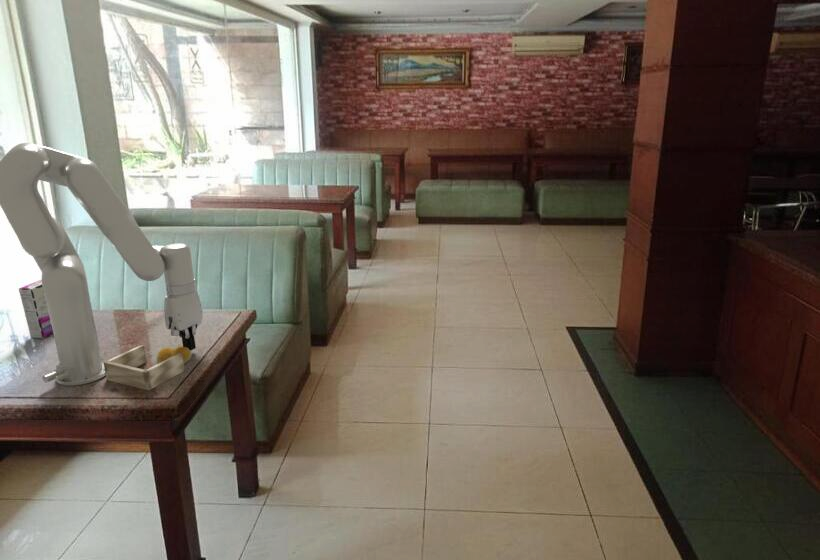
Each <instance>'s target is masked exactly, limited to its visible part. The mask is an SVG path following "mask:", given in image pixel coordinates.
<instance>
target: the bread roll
mask: <svg viewBox="0 0 820 560" xmlns="http://www.w3.org/2000/svg"><path fill="white" fill-rule="evenodd" d="M178 353H182V356H183V363H184V364H185V363H187V362H189V360H191V359H192V350H191V351H190V350H189V349H188V348H187V347H183V346H177V347H174V348H171V347H163V348H161V349H160V350H159V351H158V353H157V354H156V365H157V364H159V363H161V362H163V361H165V360H167V359H169V358H171V357H173V356H174V355H176V354H178Z"/></svg>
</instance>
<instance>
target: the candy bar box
mask: <svg viewBox="0 0 820 560" xmlns="http://www.w3.org/2000/svg"><path fill="white" fill-rule="evenodd" d="M18 292H19V295H20V299H21V304H22V308H23V312H24V315H25V319H26V324H27V327H28V332H29V336H30V338H31V339H46V338H47V337H50V336H51V335H54V334H53V329H52V325H51V321H50V316H49V312H48V307H47V303H46V300H45V296H44V292H43V288H42V279H39V280H37V281H34V282H31V283H30V284H27V285H24V286H21V287H20V288H18Z"/></svg>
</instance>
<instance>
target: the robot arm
mask: <svg viewBox="0 0 820 560" xmlns="http://www.w3.org/2000/svg"><path fill="white" fill-rule="evenodd" d="M39 181H43V182H46V183H50V184H54V185H57V186H62V187H67V188H68V190H69V192H71V194H72V196H74V198H75V199H76V200H77V202H79V204H80V205H81V207H82V208H83V209H84V211H85V212H86V213H87V214H88V216H89V218H91V220H92V221H93V222H94V223H95V225H96V227H97V228H98V229H99V230H100V232H101V233H102V235H104V236H105V238H106V239H107V240H108V241H109V242H110V244H111V245H112V246H113V247H114V248H115V250H116V251H117V252H118V253H119V255H120V257H122V259H123V260H124V262H126V264H127V265H128V267H129V268H130V269H131V270H132V272H133V273H134V274H135V276H137V278H138V279H140V280H143V281H146V282H153V281H156V280H159V279H160V278H161V277H162V276H163V277H164V284H165V289H166V295H165V296H164V305H163V306H164V307H163V309H164V321H165V327H166V329H167V330H170V336H173V337H177V336H178V337H179V338H181V342H182V347H187V348H188V349H189V350H190V351H191V352H192V351H193V350H195V349H196V339H195V335H197V334H196V333H197V328H198V327H199V326H200V325H201V324H202V322H203V317H204V316H203V308H202V303H201V299H200V295H199V291H198V290H197V289H196V283H197V281H196V279H195V276H194V267H193V262H192V254H191V253H192V252H191V248H190V246H189V245H187V244H186V243H180V242H179V243H170V244H166V245H153V244H152V243H151V242H150V240H149V239H148V237H147V236H146V235H145V234H144V232H143V230H142V229H141V228H140V226H139V225H138V223H137V221H136V219H135V217H134V215H133V214H132V212H131V210H130V209H129V207H128V206H127V205H126V204H125V202H124V200H122V198H121V197H120V195H119V194H118V193H117V191H116V190H115V188H114V187H113V186H112V185H111V183H110V182H109V180H108V179H107V178H106V176H105V175H104V174H103V172H102V171H101V169H100V168H99V167H98V165H97V164H96V163H95V162H94V161H92V160H91V159H89V158H87V157H83V156H78V155H76V154H75V155H74V154H71V153H67V152H64V151H60V150H57V149H53V148H51V147H47V146H43V145H41V144H36V143H32V142H24V143H23V142H22V143H19V144H16V145H14V146H13V147H12V148H11V149H10V150H9V151H7V153H6V154H5V155H4V156H3V157H2V159H0V208H1V210H3V213H4V214H5V217H6V219H7V220H8V223H9V225H10V227H11V228H12V229H13V232H14V233H15V235H16V237H17V239H18V241H19V242H20V243H19V244H20V245H21V248H22V249H23V250H24V252H26V253H27V254H28V255H30V256H31V257H33V259H34V261H35V263H36V264H37V266H38V268H39V269H40V272H41V280H42V288H43V292H44V296H45V300H46V303H47V307H48V312H49V316H50V321H51V325H52V329H53V334H52V335H53V338H54V342H55V346H56V347H55V348H56V351H57V357H58V362H59V363H58V364H56V365H55V368H56V369H54V370H53V372H49V373H46V374H45V375H43V376H42V380H43V382H44V383H50V382H52V381H55V382H56V383H58V384H59V385H61V386H81V385H85V384H90V383H93V382H96V381H98V380H100V379H103V378H104V377H106V374H105V368H104V363H103V362H104V361H103V360H102V354H101V349H100V344H99V339H98V334H97V329H96V324H95V319H94V317H95V316H94V313H93V309H92V307H93V306H92V303H91V296H90V292H89V286H88V278H87V275H86V270H85V266H84V263H83V262H82V261H83V260H81V258H80V255H79V254H78V251H77V250H76V248H75V246H74V245H73V242H72V241H71V239H70V238H69V235H68V233H67V232H66V230H65V228H64V227H63V225H62V224H61V222H60V221H59V220H58V219H56V218H55V217H52V214H51V213H50V211H49V209H48V207H47V206H46V203H45V201H44V199H43V198H42V196H41V194H40V192H39V190H38V184H39Z"/></svg>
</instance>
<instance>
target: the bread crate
mask: <svg viewBox="0 0 820 560" xmlns="http://www.w3.org/2000/svg"><path fill="white" fill-rule="evenodd" d="M102 362H103V363H104V368H105V374H106V375H105V378H106V381H110V382H113V383H117V384H121V385H126V386H130V387H134V388H137V389H140V390H141V389H142V390H146V391H150V390H152V389H154V388H156V387H158V386H160V385H162V384H163V383H165V382H167V381H168V380H171V379H172V378H174V377H175V376H178V375H181V374H182V373H183V372H185V370H186V369H185V363H183V356H182V353H178V354H176V355H174V356H173V357H171V358H169V359H167V360H165V361H163V362H161V363H159V364H157V363H156V364H155V365H153V366H151V367H149V368H148V369H143V368H138V367H139V366H142V365H143V364H146V363H147V356H146V350H145V345H143V344H140V345H138V346H136V347H134V348H131V349H130V350H129V349H128V350H127V351H124V352H123V353H121V354H119V355H116V356H114V357H112V358H110V359H108V360H105V361H102Z"/></svg>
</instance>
